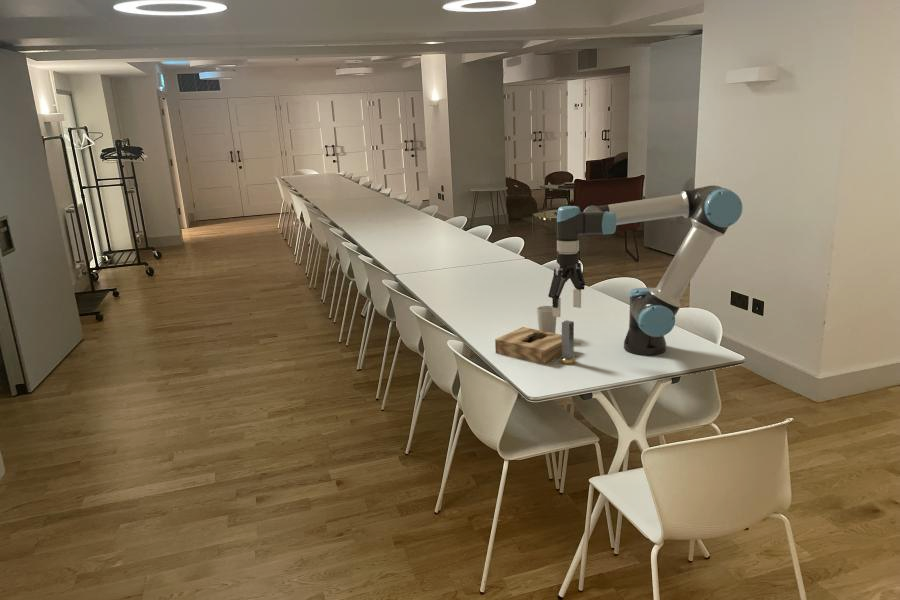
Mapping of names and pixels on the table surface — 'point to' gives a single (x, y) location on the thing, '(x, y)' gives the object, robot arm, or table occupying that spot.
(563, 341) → the stud
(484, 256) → the table surface
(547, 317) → the cup
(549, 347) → the keyhole box
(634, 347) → the robot arm
